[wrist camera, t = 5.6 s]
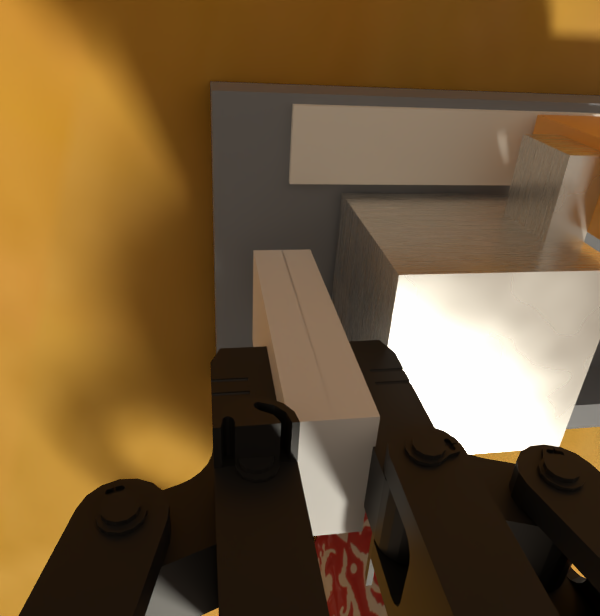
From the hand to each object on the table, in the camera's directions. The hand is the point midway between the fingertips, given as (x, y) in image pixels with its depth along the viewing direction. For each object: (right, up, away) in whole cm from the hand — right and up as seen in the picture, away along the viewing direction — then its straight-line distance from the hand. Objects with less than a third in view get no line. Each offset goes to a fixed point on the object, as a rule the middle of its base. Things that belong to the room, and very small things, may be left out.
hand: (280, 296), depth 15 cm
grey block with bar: (+11, +2, +3) cm, 12 cm away
